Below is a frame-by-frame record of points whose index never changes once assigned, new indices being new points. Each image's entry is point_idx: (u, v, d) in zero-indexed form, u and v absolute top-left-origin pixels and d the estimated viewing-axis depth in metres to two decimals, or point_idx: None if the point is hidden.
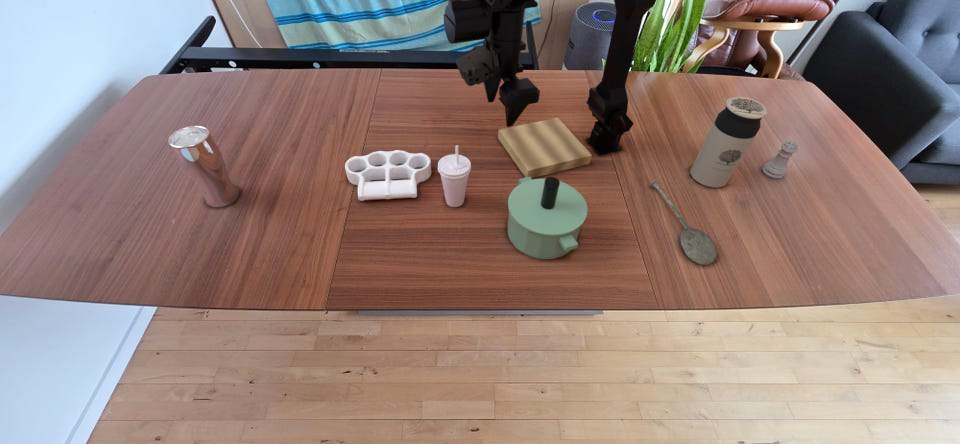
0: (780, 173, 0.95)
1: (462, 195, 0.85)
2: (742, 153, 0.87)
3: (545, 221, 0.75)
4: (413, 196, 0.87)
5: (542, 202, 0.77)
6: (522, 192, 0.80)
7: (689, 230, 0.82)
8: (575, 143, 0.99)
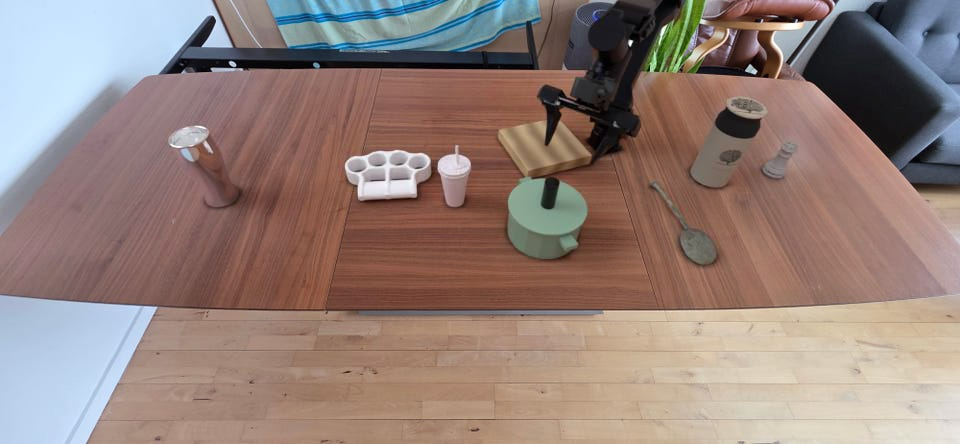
0: (780, 173, 0.95)
1: (462, 195, 0.85)
2: (742, 153, 0.87)
3: (545, 221, 0.75)
4: (413, 196, 0.87)
5: (542, 202, 0.77)
6: (522, 192, 0.80)
7: (689, 230, 0.82)
8: (575, 143, 0.99)
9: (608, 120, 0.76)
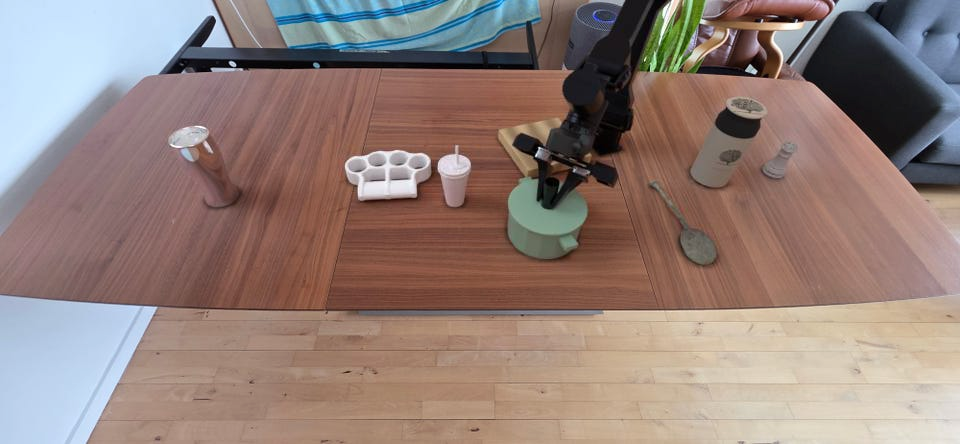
0: (780, 173, 0.95)
1: (462, 195, 0.85)
2: (742, 153, 0.87)
3: (545, 221, 0.75)
4: (413, 196, 0.87)
5: (542, 202, 0.77)
6: (522, 192, 0.80)
7: (689, 230, 0.82)
8: None
9: None
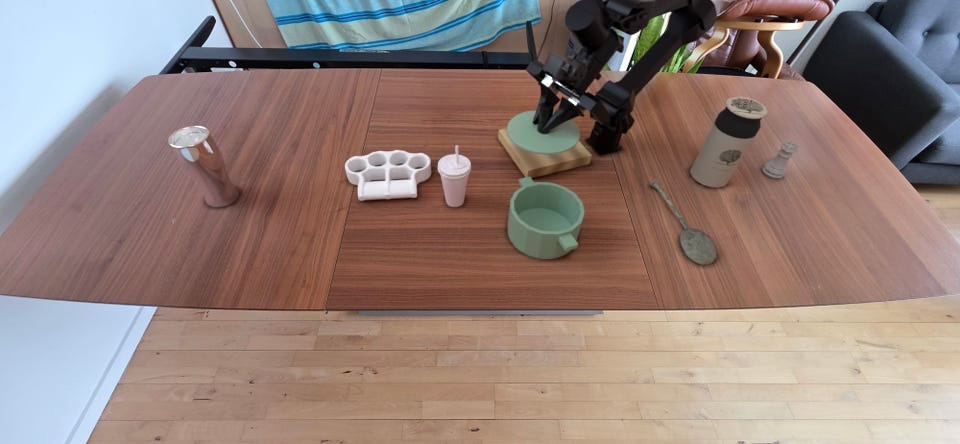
0: (780, 173, 0.95)
1: (462, 195, 0.85)
2: (742, 153, 0.87)
3: (532, 140, 0.83)
4: (413, 196, 0.87)
5: (537, 125, 0.84)
6: (527, 116, 0.88)
7: (689, 230, 0.82)
8: None
9: (579, 102, 0.79)
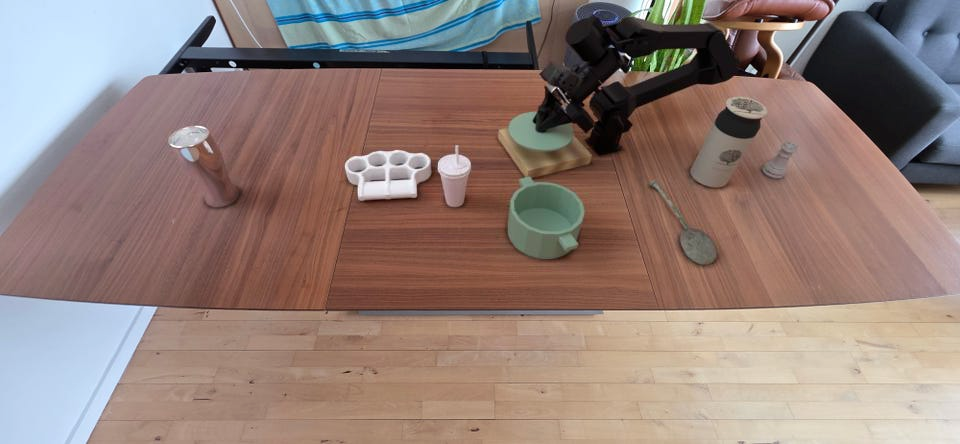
0: (780, 173, 0.95)
1: (462, 195, 0.85)
2: (742, 153, 0.87)
3: (525, 135, 0.93)
4: (413, 196, 0.87)
5: (536, 124, 0.94)
6: (534, 116, 0.98)
7: (689, 230, 0.82)
8: (575, 143, 0.99)
9: None
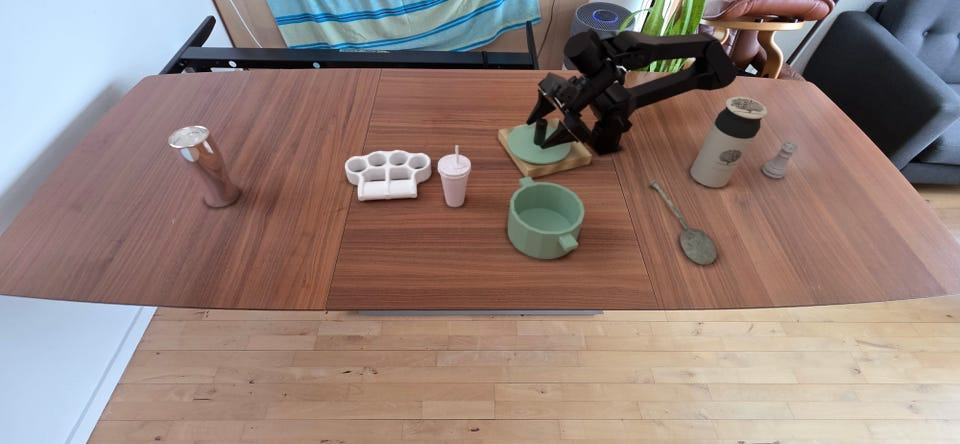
0: (780, 173, 0.95)
1: (462, 195, 0.85)
2: (742, 153, 0.87)
3: (524, 148, 0.95)
4: (413, 196, 0.87)
5: (533, 137, 0.97)
6: (532, 128, 1.01)
7: (689, 230, 0.82)
8: (575, 143, 0.99)
9: None
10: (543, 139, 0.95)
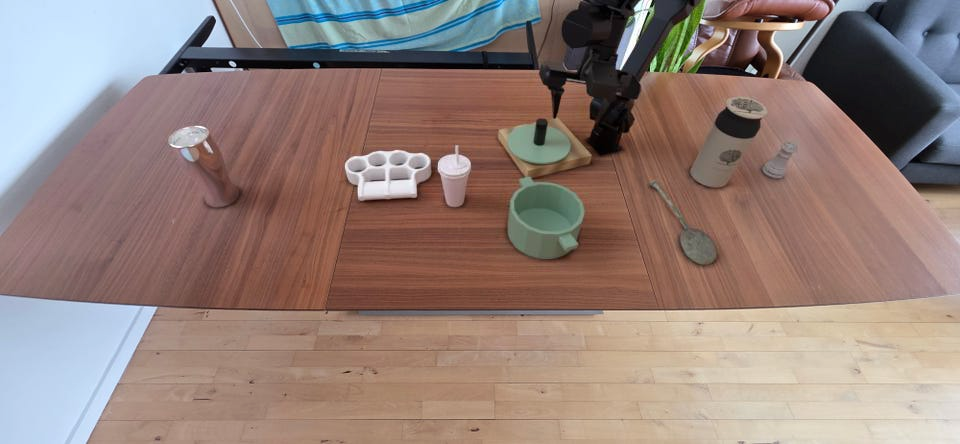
0: (780, 173, 0.95)
1: (462, 195, 0.85)
2: (742, 153, 0.87)
3: (524, 148, 0.95)
4: (413, 196, 0.87)
5: (533, 137, 0.97)
6: (532, 128, 1.01)
7: (689, 230, 0.82)
8: (575, 143, 0.99)
9: None
10: (543, 139, 0.95)
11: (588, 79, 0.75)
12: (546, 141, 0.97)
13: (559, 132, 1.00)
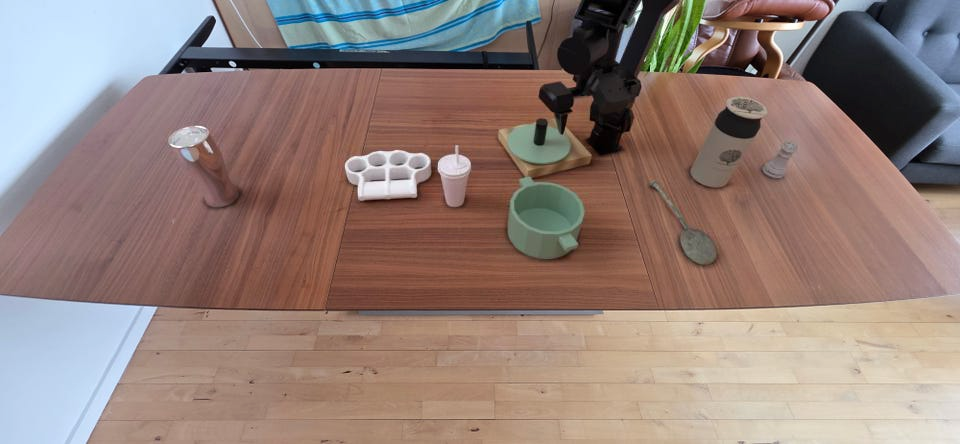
0: (780, 173, 0.95)
1: (462, 195, 0.85)
2: (742, 153, 0.87)
3: (524, 148, 0.95)
4: (413, 196, 0.87)
5: (533, 137, 0.97)
6: (532, 128, 1.01)
7: (689, 230, 0.82)
8: (575, 143, 0.99)
9: None
10: (543, 139, 0.95)
11: (598, 97, 0.73)
12: (546, 141, 0.97)
13: None
